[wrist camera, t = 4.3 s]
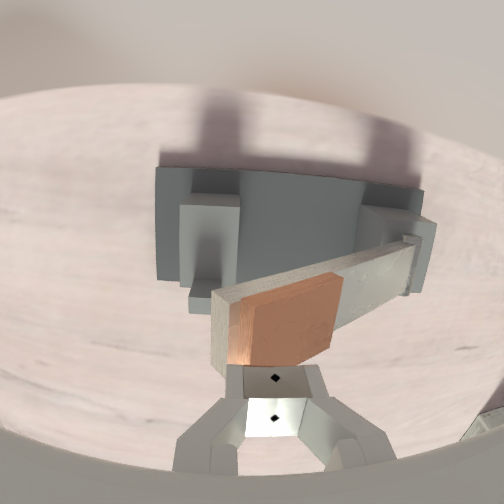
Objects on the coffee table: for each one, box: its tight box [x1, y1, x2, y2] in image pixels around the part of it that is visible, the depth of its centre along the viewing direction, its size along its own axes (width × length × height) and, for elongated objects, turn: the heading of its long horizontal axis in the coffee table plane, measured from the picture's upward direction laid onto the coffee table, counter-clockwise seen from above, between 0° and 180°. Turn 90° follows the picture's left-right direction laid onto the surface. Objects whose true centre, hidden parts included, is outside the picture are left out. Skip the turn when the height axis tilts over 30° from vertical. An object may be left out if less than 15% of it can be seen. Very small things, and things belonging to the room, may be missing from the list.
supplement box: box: [460, 407, 504, 441], centre depth 36 cm, size 13×13×18 cm
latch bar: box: [211, 233, 423, 379], centre depth 17 cm, size 17×4×2 cm
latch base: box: [155, 167, 437, 315], centre depth 24 cm, size 24×10×9 cm, turn 86°
